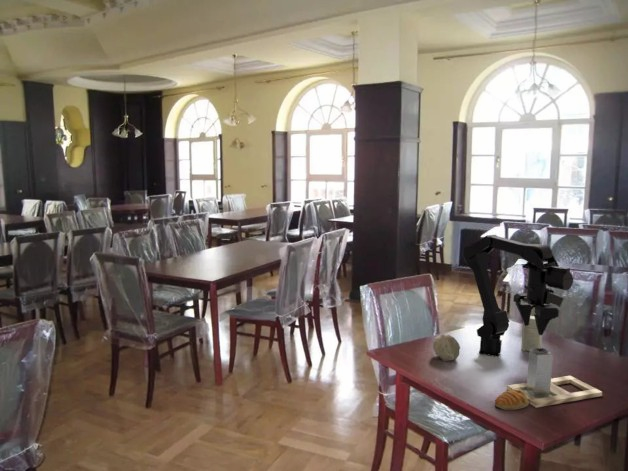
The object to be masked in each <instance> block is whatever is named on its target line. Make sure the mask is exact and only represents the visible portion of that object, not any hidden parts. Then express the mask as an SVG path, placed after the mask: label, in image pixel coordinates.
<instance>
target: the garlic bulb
mask: <svg viewBox="0 0 628 471" xmlns="http://www.w3.org/2000/svg"><path fill="white" fill-rule="evenodd" d="M432 343H433V346H432V347H433V350H434V353H435V355H436V356H438V357H439V358H440V359H441V360H443V361H446V362H450V361H455V360H457V358H458V357H459V356H460V349H461V345H460V343H459V342H458V341H457V339H456V338H455V337H454V336H452V335H451V334H447V333H442V334H440V335H438V336H437V337H435V339H434V341H433V342H432Z"/></svg>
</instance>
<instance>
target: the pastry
mask: <svg viewBox="0 0 628 471" xmlns="http://www.w3.org/2000/svg"><path fill="white" fill-rule="evenodd" d="M529 405H530V404H529V401H528V399H527V397H526V394H525V393H524V392H523V391H521V390H516V389H514V390H512V391H509V390H505V391H503V392H502V393H501V394H499V395H498V396H497V397H496V398H495V400H494V406H495V407H497V408H500V409H502V410H505V411H509V410H511V411H513V410H514V411H516V410H519V409H524V408H527V407H528V406H529Z"/></svg>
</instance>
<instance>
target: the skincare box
mask: <svg viewBox="0 0 628 471" xmlns="http://www.w3.org/2000/svg"><path fill="white" fill-rule="evenodd" d="M521 329H522V330H521V349H520V350H522V351H527V352H529V350H530V349H535V348H542V340H543V337H542V336H543V335H539V334H538V330H537V325H536V321H535V317H534V315H530V321H529V325H528V326H525V325H524V322H523V321H522V325H521Z"/></svg>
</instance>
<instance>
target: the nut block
mask: <svg viewBox="0 0 628 471" xmlns="http://www.w3.org/2000/svg"><path fill="white" fill-rule="evenodd" d="M553 358H554V354H553V353H552V352H550V351H549V350H547V349H546V348H543V347H541V348H535V349H530V350H529V351H528V366H527V375H526V376H527V378H526V382H527V388H526V391H527V392H528V393H529V394H530V395H531V396H533V397H535V398H545V397H550V385H551V379H552V370H553V361H554V360H553Z"/></svg>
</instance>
